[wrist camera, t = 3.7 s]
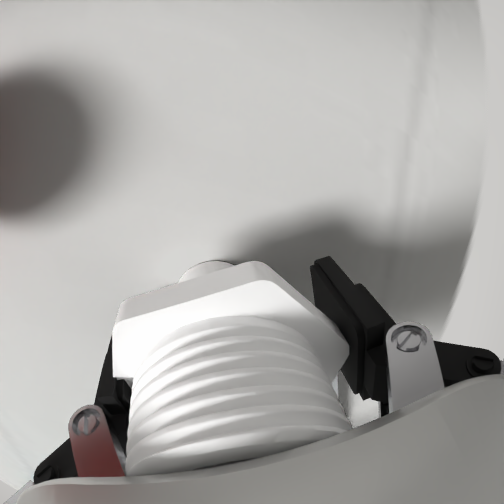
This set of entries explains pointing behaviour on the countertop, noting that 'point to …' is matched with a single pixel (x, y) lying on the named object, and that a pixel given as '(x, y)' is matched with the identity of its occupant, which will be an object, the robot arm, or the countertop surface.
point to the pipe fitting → (225, 370)
